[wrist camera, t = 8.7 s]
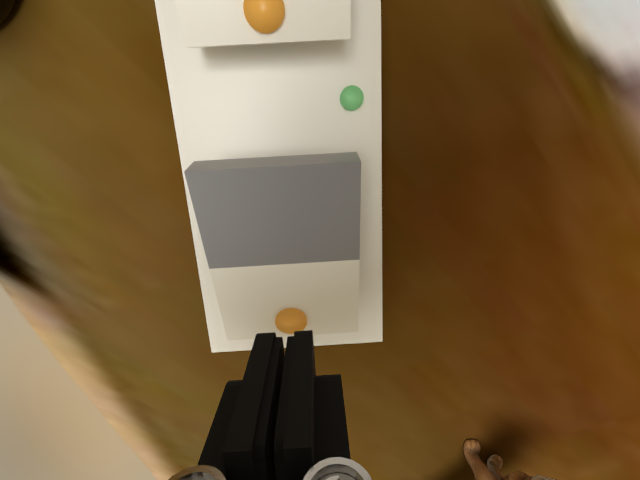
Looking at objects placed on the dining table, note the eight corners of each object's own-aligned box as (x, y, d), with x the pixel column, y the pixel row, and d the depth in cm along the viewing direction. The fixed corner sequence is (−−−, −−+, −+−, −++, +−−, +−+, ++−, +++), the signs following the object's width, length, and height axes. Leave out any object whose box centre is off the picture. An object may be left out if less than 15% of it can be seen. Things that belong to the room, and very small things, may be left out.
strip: (355, -336, 14) (383, -641, 9) (366, 299, 22) (385, 350, 17) (145, -328, 14) (40, -633, 9) (232, 308, 22) (207, 362, 17)
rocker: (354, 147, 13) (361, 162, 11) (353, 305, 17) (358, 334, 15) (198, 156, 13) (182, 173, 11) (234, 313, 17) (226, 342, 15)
